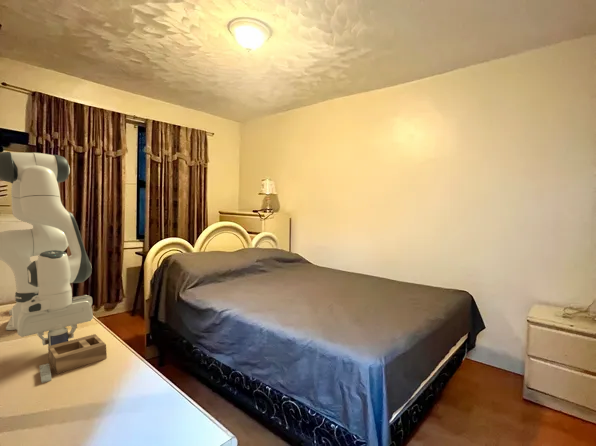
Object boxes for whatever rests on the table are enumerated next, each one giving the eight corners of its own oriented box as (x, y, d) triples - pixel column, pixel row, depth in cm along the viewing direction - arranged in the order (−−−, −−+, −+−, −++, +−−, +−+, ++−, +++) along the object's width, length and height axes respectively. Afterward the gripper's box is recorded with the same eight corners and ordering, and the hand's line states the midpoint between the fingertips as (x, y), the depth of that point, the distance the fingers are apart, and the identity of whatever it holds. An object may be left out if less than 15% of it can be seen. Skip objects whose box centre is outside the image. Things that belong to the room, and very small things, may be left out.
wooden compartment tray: (48, 360, 104) (48, 346, 103) (95, 346, 113) (95, 334, 113) (56, 373, 95) (55, 358, 95) (106, 358, 105) (106, 344, 104)
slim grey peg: (39, 372, 97) (39, 365, 96) (49, 370, 98) (48, 363, 98) (41, 384, 90) (41, 376, 90) (51, 381, 92) (51, 373, 92)
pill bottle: (72, 349, 111) (71, 321, 111) (56, 356, 106) (54, 326, 106) (61, 347, 113) (59, 319, 112) (44, 354, 108) (43, 325, 107)
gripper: (89, 292, 118) (91, 329, 119) (14, 305, 103) (17, 348, 104) (94, 295, 114) (96, 334, 115) (17, 309, 99) (20, 354, 100)
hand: (58, 341), depth 109 cm, fingers closed on pill bottle, 5 cm apart
